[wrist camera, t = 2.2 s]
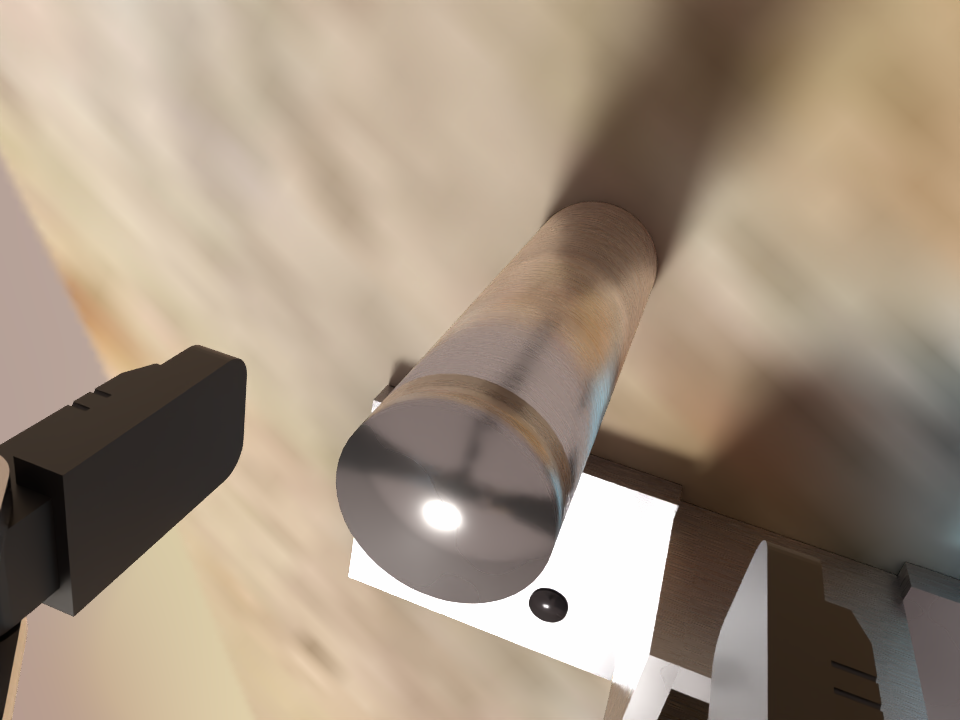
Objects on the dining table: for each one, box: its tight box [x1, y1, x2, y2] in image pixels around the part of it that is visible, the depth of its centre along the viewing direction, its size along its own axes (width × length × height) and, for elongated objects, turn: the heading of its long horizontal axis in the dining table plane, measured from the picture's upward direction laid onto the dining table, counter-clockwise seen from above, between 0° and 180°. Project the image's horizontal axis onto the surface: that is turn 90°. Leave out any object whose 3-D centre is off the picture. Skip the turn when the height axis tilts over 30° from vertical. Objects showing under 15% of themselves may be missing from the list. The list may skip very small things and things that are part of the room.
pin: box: [336, 201, 657, 604], centre depth 16 cm, size 3×3×11 cm
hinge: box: [349, 385, 960, 720], centre depth 21 cm, size 7×24×6 cm, turn 79°
